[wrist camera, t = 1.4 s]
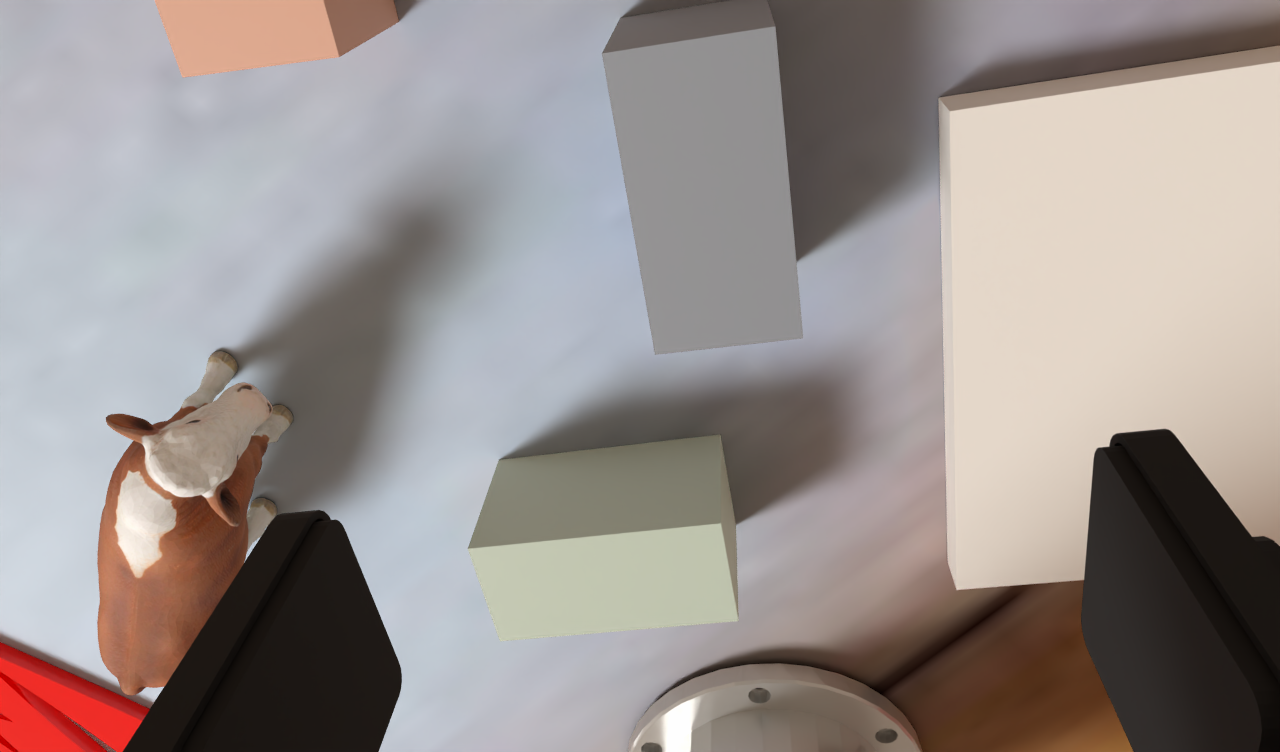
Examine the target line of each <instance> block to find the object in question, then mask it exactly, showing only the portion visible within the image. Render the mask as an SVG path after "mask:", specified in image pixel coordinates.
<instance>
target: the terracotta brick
mask: <svg viewBox="0 0 1280 752" xmlns="http://www.w3.org/2000/svg"><path fill="white" fill-rule="evenodd" d="M155 3H156V5H157V8H158V11H159V14H160V17H161V19H162V22H163V25H164V28H165V30H166V33H167V36H168V39H169V41H170V44H171V47H172V50H173V52H174V55H175V58H176V61H177V64H178V66H179V69H180V72H181V75H182V77H191V76H198V75H206V74H214V73H221V72H229V71H236V70H244V69H252V68H259V67H267V66H275V65H282V64H290V63H298V62H305V61H313V60H320V59H328V58H336V57H340V56H342V55H344V54H345V53H347V52H349V51H350V50H352V49H354V48H355V47H357V46H359V45H360V44H362V43H364V42H366V41H367V40H369V39H371V38H372V37H374V36H376V35H377V34H379V33H381V32H383V31H384V30H386V29H388V28H389V27H391V26H393V25H394V24H396V23H398V22H399V19H398V15H397V11H396V7H395V3H394V0H155Z"/></svg>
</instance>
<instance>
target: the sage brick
mask: <svg viewBox="0 0 1280 752" xmlns="http://www.w3.org/2000/svg"><path fill="white" fill-rule="evenodd" d="M468 551H469V554H470V557H471V559H472V562H473V565H474V568H475V571H476V574H477V577H478V579H479V582H480V585H481V588H482V591H483V594H484V597H485V600H486V602H487V605H488V608H489V611H490V614H491V617H492V620H493V622H494V625H495V628H496V631H497V634H498V637H499V640H500V641H509V640H521V639H532V638H544V637H556V636H568V635H580V634H591V633H603V632H615V631H627V630H638V629H650V628H662V627H674V626H685V625H697V624H709V623H721V622H732V621H739V620H738V584H737V547H736V523H735V517H734V511H733V505H732V499H731V493H730V487H729V482H728V476H727V470H726V464H725V458H724V452H723V446H722V441H721V435H711V436H702V437H693V438H685V439H676V440H667V441H659V442H650V443H641V444H633V445H624V446H615V447H606V448H598V449H589V450H580V451H572V452H563V453H554V454H546V455H537V456H528V457H519V458H511V459H502V460H499V461H498V464H497V467H496V470H495V472H494V475H493V478H492V481H491V484H490V487H489V490H488V493H487V495H486V498H485V501H484V504H483V507H482V510H481V513H480V515H479V518H478V521H477V524H476V527H475V530H474V533H473V536H472V538H471V541H470V544H469V547H468Z"/></svg>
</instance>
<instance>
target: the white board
mask: <svg viewBox="0 0 1280 752" xmlns="http://www.w3.org/2000/svg"><path fill="white" fill-rule="evenodd" d="M938 104H939V154H940V204H941V254H942V304H943V354H944V403H945V453H946V503H947V553H948V564H949V567H950V571H951V574H952V577H953V580H954V583H955V586H956V590H962V589H975V588H988V587H1000V586H1013V585H1026V584H1038V583H1051V582H1064V581H1076V580H1084V574H1085V562H1086V549H1087V536H1088V524H1089V511H1090V498H1091V486H1092V473H1093V460H1094V454H1095V451H1096V449H1097V448H1099V447H1109V445H1110V440H1111V438H1112V436H1113V435H1114V434H1116V433H1125V432H1135V431H1146V430H1156V429H1168V430H1170V431H1172V432H1173V433H1174V434H1175V436H1176V437H1177V438H1178V440H1179V441H1180V442H1181V444H1182V445H1183V446H1184V447H1185V449H1186V450H1187V451H1188V453H1189V454H1190V455H1191V457H1192V458H1193V459H1194V461H1195V462H1196V463H1197V465H1198V466H1199V467H1200V469H1201V470H1202V471H1203V473H1204V474H1205V475H1206V477H1207V478H1208V479H1209V481H1210V482H1211V483H1212V484H1213V486H1214V487H1215V488H1216V490H1217V491H1218V492H1219V494H1220V495H1221V496H1222V498H1223V499H1224V500H1225V502H1226V503H1227V504H1228V506H1229V507H1230V508H1231V510H1232V511H1233V512H1234V514H1235V515H1236V516H1237V518H1238V519H1239V520H1240V522H1241V523H1242V524H1243V525H1244V527H1245V528H1246V529H1247V531H1248V532H1249V533H1250V535H1251V536H1252V537H1258V536H1265V537H1267V538H1270V539H1272V540H1274V541H1275V542H1276V543H1277V544H1278V545H1279V546H1280V45H1279V46H1273V47H1266V48H1260V49H1253V50H1246V51H1240V52H1233V53H1227V54H1220V55H1214V56H1207V57H1201V58H1194V59H1188V60H1181V61H1175V62H1168V63H1162V64H1155V65H1149V66H1142V67H1135V68H1129V69H1122V70H1116V71H1109V72H1103V73H1096V74H1090V75H1083V76H1077V77H1070V78H1064V79H1057V80H1051V81H1044V82H1037V83H1031V84H1024V85H1018V86H1011V87H1005V88H998V89H992V90H985V91H979V92H972V93H966V94H959V95H953V96H946V97H939V98H938Z"/></svg>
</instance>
